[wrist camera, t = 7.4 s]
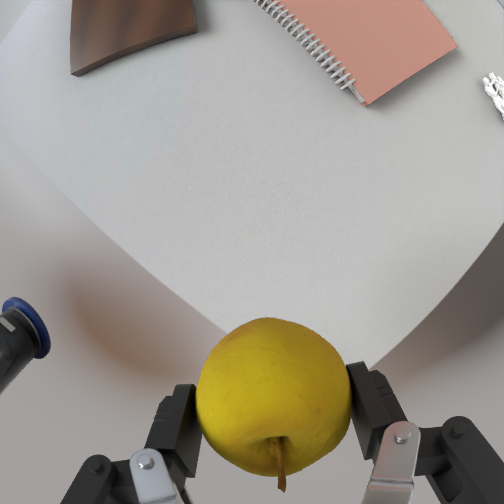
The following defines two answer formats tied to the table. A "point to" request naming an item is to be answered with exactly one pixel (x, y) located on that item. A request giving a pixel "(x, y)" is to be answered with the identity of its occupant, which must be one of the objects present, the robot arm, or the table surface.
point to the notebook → (366, 39)
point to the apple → (273, 398)
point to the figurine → (500, 86)
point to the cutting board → (124, 28)
